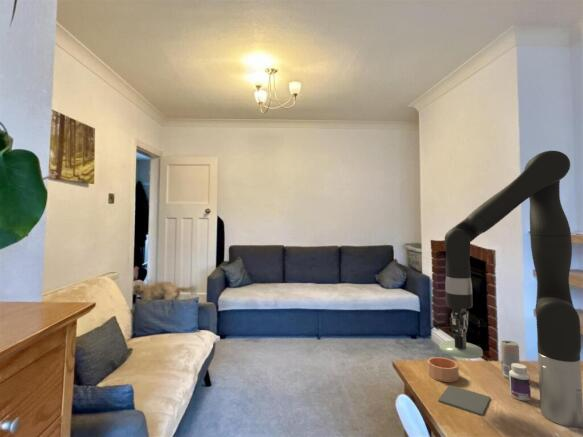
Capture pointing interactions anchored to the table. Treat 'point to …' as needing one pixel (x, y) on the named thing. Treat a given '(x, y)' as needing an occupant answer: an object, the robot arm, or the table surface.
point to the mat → (465, 399)
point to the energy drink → (509, 356)
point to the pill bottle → (519, 382)
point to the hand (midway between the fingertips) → (460, 345)
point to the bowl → (443, 369)
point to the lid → (466, 352)
